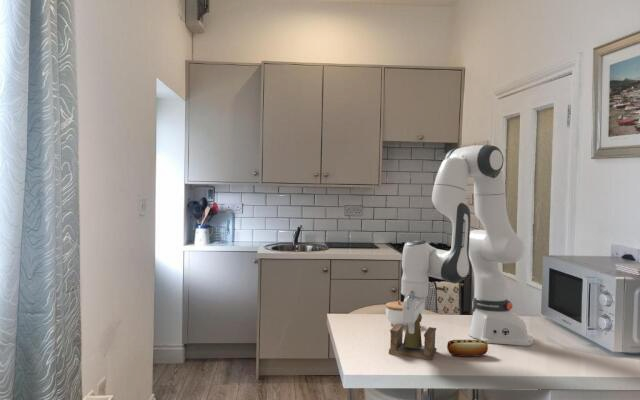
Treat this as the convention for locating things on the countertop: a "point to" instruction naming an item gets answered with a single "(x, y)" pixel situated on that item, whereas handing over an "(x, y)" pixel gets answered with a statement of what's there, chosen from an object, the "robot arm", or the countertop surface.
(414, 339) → the olive green bulbous cylinder
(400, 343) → the holder
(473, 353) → the hot dog
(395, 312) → the lidded jar
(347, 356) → the countertop surface
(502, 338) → the robot arm
